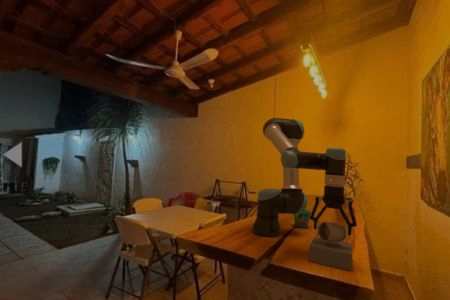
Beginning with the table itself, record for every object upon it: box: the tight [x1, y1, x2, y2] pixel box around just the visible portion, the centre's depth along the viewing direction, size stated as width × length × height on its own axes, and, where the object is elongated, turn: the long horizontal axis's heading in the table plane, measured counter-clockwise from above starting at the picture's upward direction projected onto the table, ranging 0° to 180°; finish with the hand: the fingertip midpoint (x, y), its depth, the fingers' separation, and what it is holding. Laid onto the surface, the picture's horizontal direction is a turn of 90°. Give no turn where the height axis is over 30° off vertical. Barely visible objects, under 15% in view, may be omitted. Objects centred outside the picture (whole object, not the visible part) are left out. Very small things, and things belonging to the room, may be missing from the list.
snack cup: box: [293, 208, 312, 229], centre depth 154 cm, size 16×10×10 cm
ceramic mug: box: [319, 221, 346, 242], centre depth 104 cm, size 11×8×8 cm
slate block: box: [308, 236, 353, 272], centre depth 102 cm, size 15×15×6 cm
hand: (331, 240), depth 102 cm, fingers closed on ceramic mug, 10 cm apart
